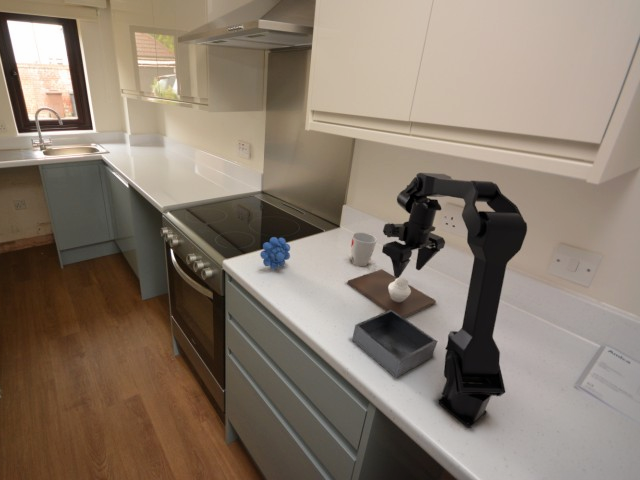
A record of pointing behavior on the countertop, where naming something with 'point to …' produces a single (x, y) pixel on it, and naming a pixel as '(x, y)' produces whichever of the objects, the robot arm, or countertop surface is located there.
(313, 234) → the countertop surface
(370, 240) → the cup
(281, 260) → the grapes
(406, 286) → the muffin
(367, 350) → the dark grey open box
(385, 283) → the board
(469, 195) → the robot arm
